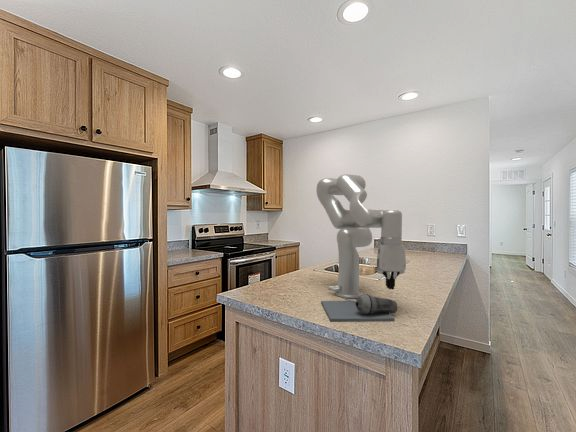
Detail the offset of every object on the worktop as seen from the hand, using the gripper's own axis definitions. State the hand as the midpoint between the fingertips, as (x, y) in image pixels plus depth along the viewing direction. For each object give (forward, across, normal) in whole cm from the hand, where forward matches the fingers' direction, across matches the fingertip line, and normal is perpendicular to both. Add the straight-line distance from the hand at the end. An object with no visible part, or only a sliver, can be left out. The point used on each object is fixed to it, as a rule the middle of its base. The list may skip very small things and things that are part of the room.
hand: (390, 288), depth 108 cm
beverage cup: (+6, 0, -4) cm, 7 cm away
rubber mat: (+9, -14, 0) cm, 17 cm away
